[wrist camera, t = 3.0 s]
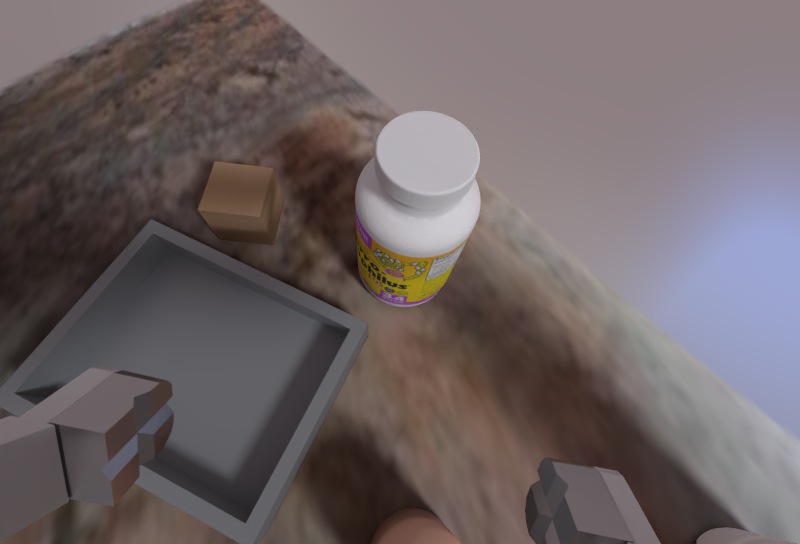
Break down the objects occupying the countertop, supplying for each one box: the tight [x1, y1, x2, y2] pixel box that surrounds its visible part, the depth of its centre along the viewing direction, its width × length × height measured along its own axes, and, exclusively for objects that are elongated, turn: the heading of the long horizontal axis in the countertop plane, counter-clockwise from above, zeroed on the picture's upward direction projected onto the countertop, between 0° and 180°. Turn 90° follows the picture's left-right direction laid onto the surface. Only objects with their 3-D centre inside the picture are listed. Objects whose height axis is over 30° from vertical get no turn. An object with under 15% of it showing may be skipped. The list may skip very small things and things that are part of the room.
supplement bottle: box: [355, 111, 480, 307], centre depth 23 cm, size 7×7×13 cm
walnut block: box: [198, 161, 284, 245], centre depth 27 cm, size 4×4×4 cm
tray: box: [0, 219, 368, 544], centre depth 23 cm, size 13×16×3 cm
